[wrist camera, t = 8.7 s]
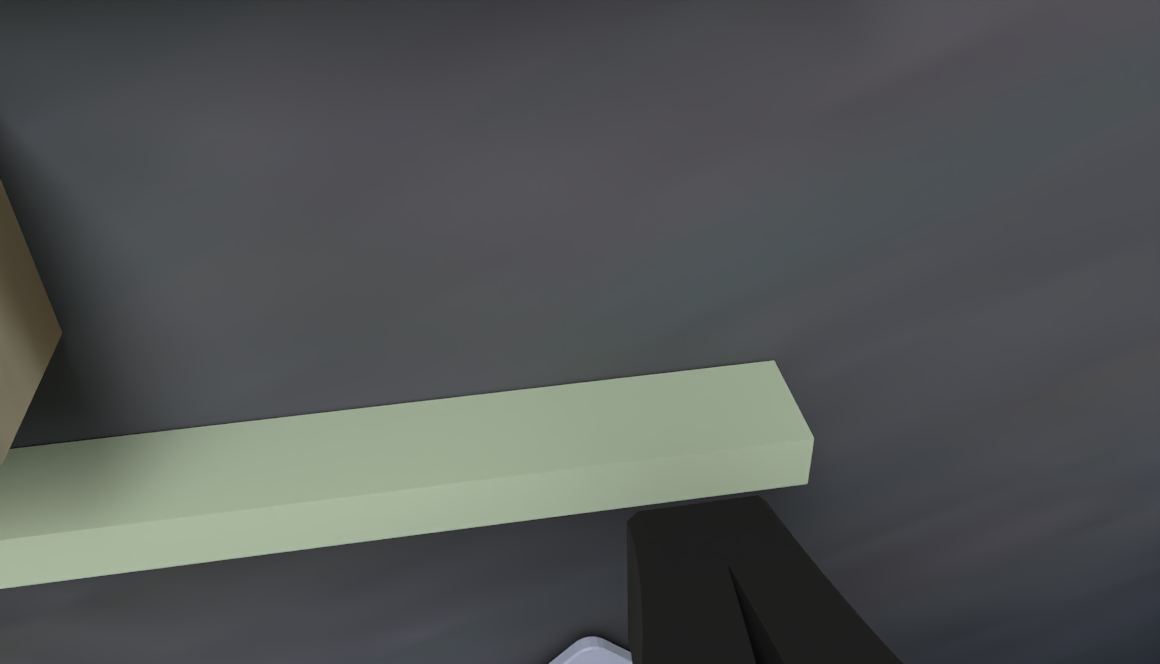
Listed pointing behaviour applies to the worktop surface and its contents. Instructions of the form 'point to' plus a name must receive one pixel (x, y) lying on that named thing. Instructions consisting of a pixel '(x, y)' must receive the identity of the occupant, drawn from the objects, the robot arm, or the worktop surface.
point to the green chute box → (394, 471)
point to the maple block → (20, 326)
